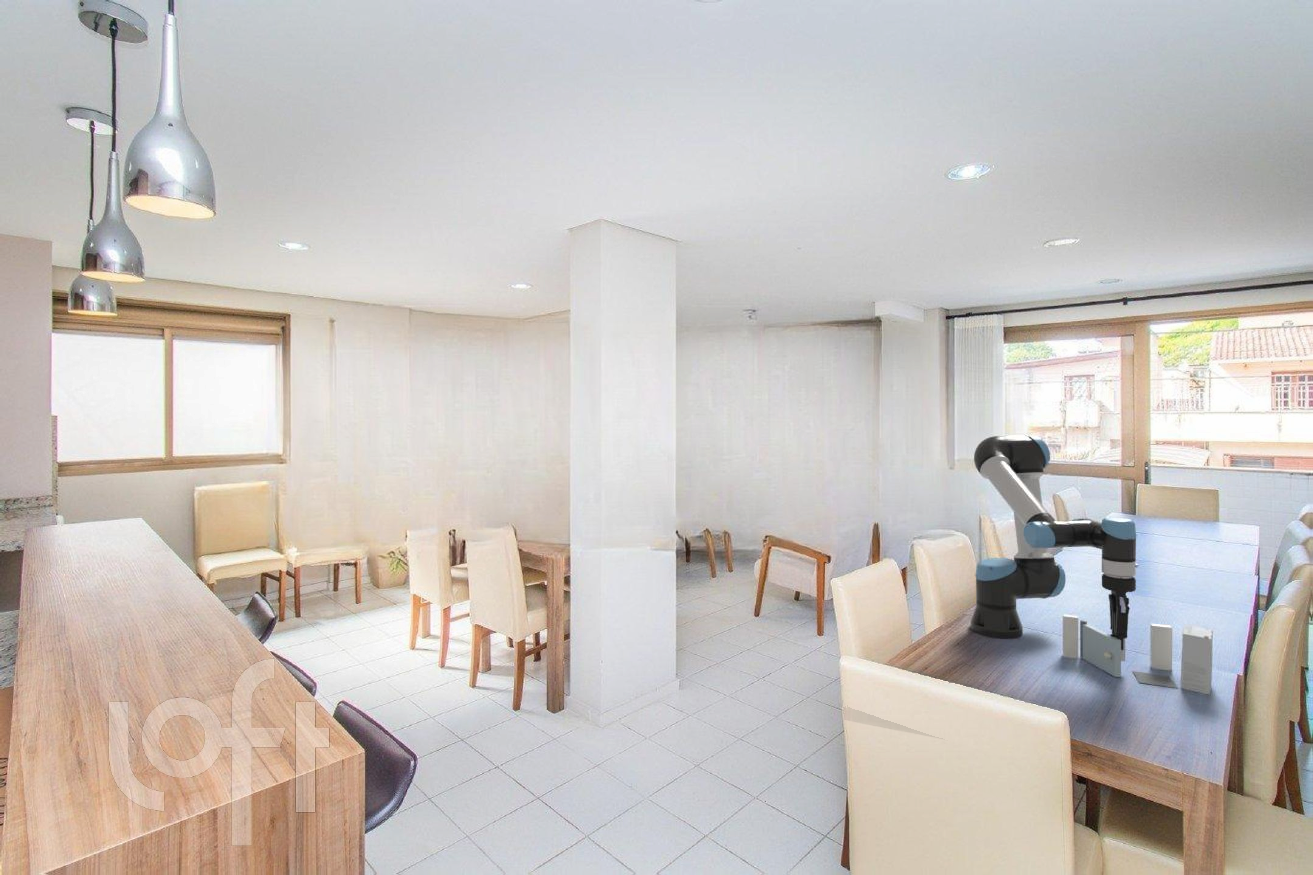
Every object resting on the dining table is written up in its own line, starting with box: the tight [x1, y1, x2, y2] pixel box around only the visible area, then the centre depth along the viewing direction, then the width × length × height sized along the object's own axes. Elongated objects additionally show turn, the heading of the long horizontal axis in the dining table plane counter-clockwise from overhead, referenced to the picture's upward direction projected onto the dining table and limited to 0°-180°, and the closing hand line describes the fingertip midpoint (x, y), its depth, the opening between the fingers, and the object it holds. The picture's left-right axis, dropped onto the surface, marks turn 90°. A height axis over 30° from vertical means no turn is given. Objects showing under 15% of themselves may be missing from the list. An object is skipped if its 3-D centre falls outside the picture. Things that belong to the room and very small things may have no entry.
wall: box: [1062, 614, 1173, 672], centre depth 179 cm, size 25×2×12 cm, turn 63°
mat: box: [1132, 670, 1179, 689], centre depth 167 cm, size 8×8×1 cm
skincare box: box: [1180, 624, 1214, 696], centre depth 162 cm, size 8×6×15 cm
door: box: [1079, 620, 1122, 678], centre depth 176 cm, size 15×3×11 cm, turn 179°
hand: (1118, 659), depth 172 cm, fingers closed
